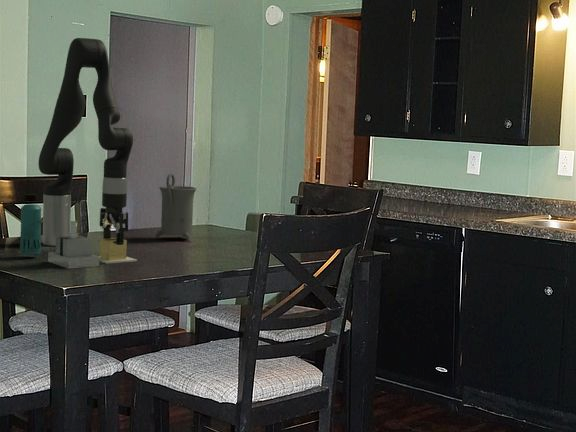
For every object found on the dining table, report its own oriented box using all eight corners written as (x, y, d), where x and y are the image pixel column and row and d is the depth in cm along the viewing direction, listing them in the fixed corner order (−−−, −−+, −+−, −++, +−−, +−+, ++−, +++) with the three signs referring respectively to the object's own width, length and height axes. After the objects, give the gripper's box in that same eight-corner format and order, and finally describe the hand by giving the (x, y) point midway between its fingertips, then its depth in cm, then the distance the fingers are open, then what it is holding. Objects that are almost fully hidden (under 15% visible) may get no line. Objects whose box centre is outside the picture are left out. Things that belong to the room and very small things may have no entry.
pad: (89, 258, 292) (89, 256, 292) (120, 256, 299) (120, 254, 299) (105, 263, 283) (105, 262, 283) (137, 261, 290) (137, 259, 290)
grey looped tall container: (166, 235, 355) (168, 170, 352) (202, 238, 351) (205, 172, 348) (146, 241, 337) (148, 172, 334) (184, 244, 333) (186, 175, 330)
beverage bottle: (19, 259, 285) (20, 194, 283) (19, 255, 291) (20, 192, 289) (41, 259, 287) (42, 195, 285) (41, 255, 293) (41, 193, 291)
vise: (48, 261, 283) (48, 219, 281) (78, 259, 289) (78, 218, 287) (68, 268, 272) (69, 224, 270) (99, 266, 278) (100, 223, 277)
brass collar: (99, 257, 291) (100, 238, 291) (116, 256, 295) (117, 237, 294) (109, 260, 287) (109, 241, 286) (126, 259, 291) (126, 240, 290)
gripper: (136, 193, 286) (135, 245, 287) (114, 189, 297) (113, 239, 298) (114, 194, 281) (113, 246, 283) (93, 189, 292) (91, 240, 294)
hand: (113, 242), depth 291 cm, fingers open, 8 cm apart
